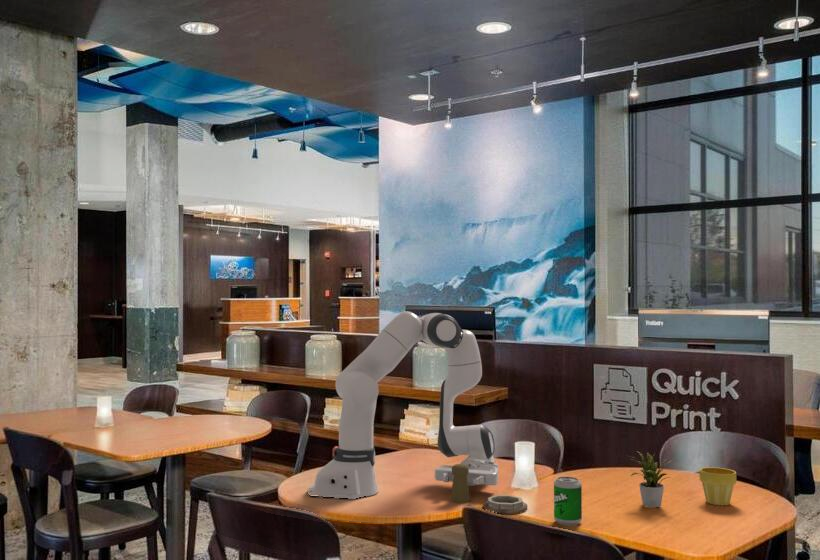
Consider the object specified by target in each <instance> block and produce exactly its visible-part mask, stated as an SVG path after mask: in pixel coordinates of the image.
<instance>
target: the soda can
mask: <svg viewBox="0 0 820 560" xmlns="http://www.w3.org/2000/svg"><path fill="white" fill-rule="evenodd" d="M582 496H583V494H582V482H581V481H580V480H579V479H578V478H577V477H574V476H559V477H558V476H557V478H556V479H555V480H554V481H553V519H554V521H556V523H557V524H558V525H561V526H566V527H568V526H569V527H571V526H572V527H573V526H578V525H580V524H579V523H581V521H582V519H583V518H582V517H583V515H582V514H583V513H582V512H583V511H582V510H583V509H582V505H583V502H582V501H583V500H582Z"/></svg>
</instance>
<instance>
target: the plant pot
mask: <svg viewBox="0 0 820 560" xmlns="http://www.w3.org/2000/svg"><path fill="white" fill-rule="evenodd" d="M698 476H699V481H700V482H701V484H702V488H703V493H704V497H705V502H706V503H707V504H709V505H712V506H713V505H714V506H720V505H721V506H723V507H724V505H725V506H729V505H730V504H731V499H732V494H733V490H734V487H735V485H736V484H737V472H736V471H735V470H734V469H730V468H729V469H728V468H723V467H716V466H715V467H712V466H711V467H710V466H709V467H707V466H706V467H702V468H700V469H699V473H698ZM721 506H720V507H721Z"/></svg>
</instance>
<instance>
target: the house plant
mask: <svg viewBox="0 0 820 560" xmlns="http://www.w3.org/2000/svg"><path fill="white" fill-rule="evenodd" d="M637 453H638V454H639V455H640V457H641V461H639V460H638V459H637V458H635V457H634V456H631V455H630V457H631V460H633V461H634V462H637V463H638V465H639V466H641V469H639V471H640V472H641V473H642V474H641V473H639V472H635V471H633V470H631V469H630V471H631V472H633V473H632V474H630V477H632V476H634V475H641V476H642V477H643V482H639V485H638V486H639V491H640V492H639V493H640V496H641V502H642V506H643V505H644V506H647V507H646V508H648V507H659V508H661V507H662V502H663V495H664V487H665V485H664V484H662V483H661V482H662V481H663V480H665V479H668V478H669V479H672V477H671V476H668V477H664V476H666V475H669V474H668V473H665V472H663V468H662V467H663V466H664V464H665V462H666V460H667V458H665V459H664V460H663V461H662V463H661V464H660V466H659V468H658V462H654V457H655V453H656V452H654V454H653V455H651V454H649V452H647V453H646V459H645V456H644V455H643V453H641V452H639V451H637ZM625 456H626V457H628V455H627V454H626V455H625ZM632 458H634V459H635V460H634V459H632ZM673 461H674V459H673V460H671V462H673ZM668 463H670V461H667V464H668ZM661 472H663V473H661ZM663 477H664V478H663ZM644 506H643V507H644ZM660 506H661V507H660Z"/></svg>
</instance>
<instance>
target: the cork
mask: <svg viewBox="0 0 820 560" xmlns="http://www.w3.org/2000/svg"><path fill="white" fill-rule="evenodd" d="M452 466H453V467H452V474H453V475H454V476H453V482H452V484H451V485H452V486H451V493H450V503H451V502H452V503H454V502H455V503H456V504H467V503H470V502H471V497H470V490H469V486H468V481H467V475H468V472H469V469H468V466H467V465H464V464H460V463H457V464H454V465H452ZM455 503H454V504H455Z"/></svg>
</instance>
